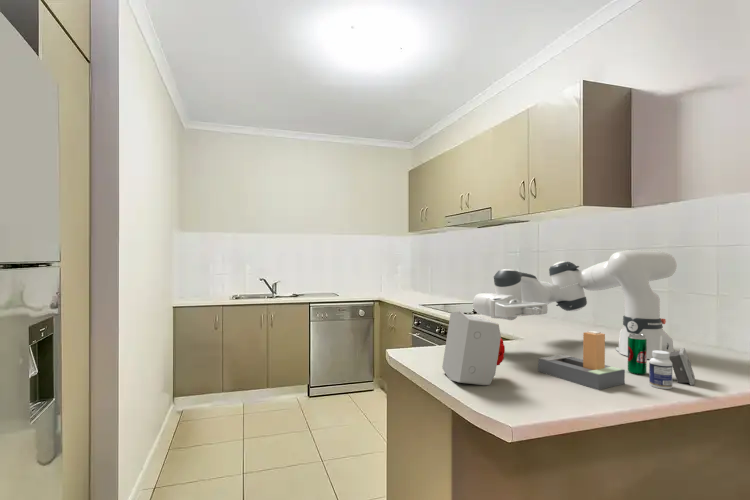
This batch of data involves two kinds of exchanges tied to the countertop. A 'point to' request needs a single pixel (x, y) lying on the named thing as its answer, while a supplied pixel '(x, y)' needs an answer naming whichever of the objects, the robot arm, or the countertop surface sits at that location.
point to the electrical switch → (682, 367)
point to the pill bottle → (660, 370)
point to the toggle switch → (581, 372)
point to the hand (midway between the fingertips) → (540, 312)
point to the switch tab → (593, 350)
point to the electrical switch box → (472, 349)
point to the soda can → (637, 354)
